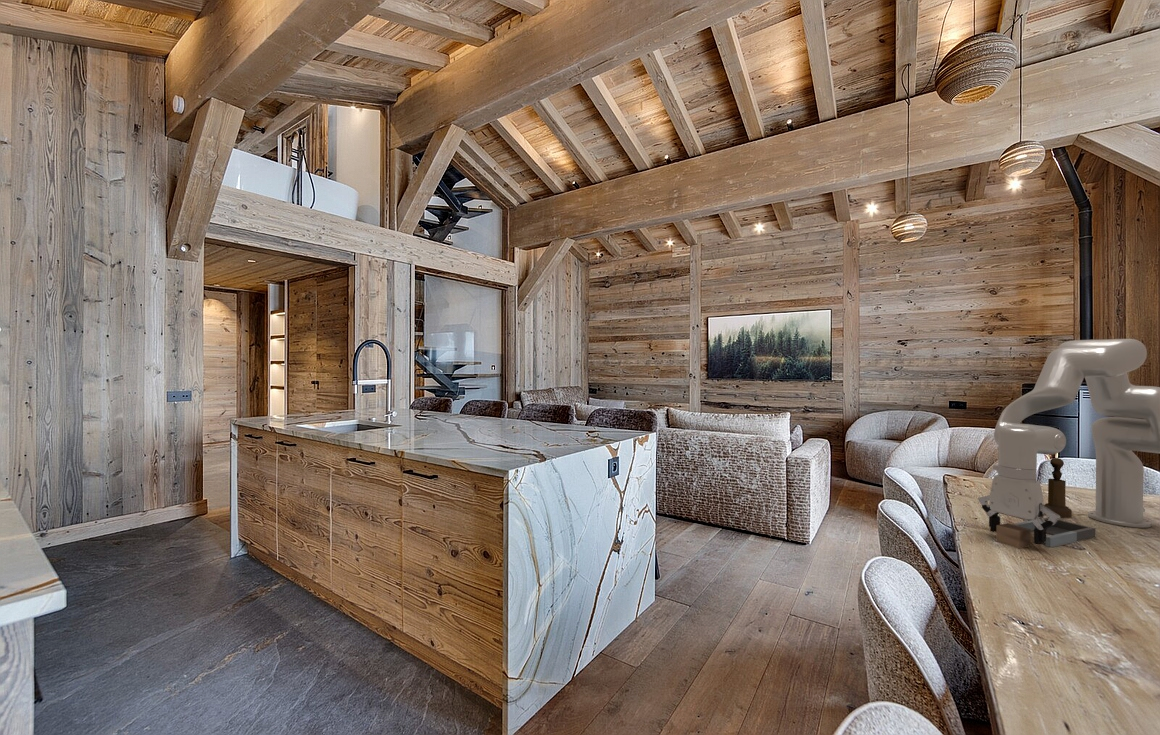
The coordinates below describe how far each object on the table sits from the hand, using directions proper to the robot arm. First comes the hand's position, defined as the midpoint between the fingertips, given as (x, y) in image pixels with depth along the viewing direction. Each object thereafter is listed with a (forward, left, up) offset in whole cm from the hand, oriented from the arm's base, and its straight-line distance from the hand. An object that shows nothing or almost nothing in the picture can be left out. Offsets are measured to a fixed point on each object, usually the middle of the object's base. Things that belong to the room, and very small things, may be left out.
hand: (1016, 537), depth 125 cm
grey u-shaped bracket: (-15, 0, -2) cm, 15 cm away
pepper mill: (-41, -10, -2) cm, 42 cm away
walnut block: (+1, 0, -2) cm, 2 cm away
